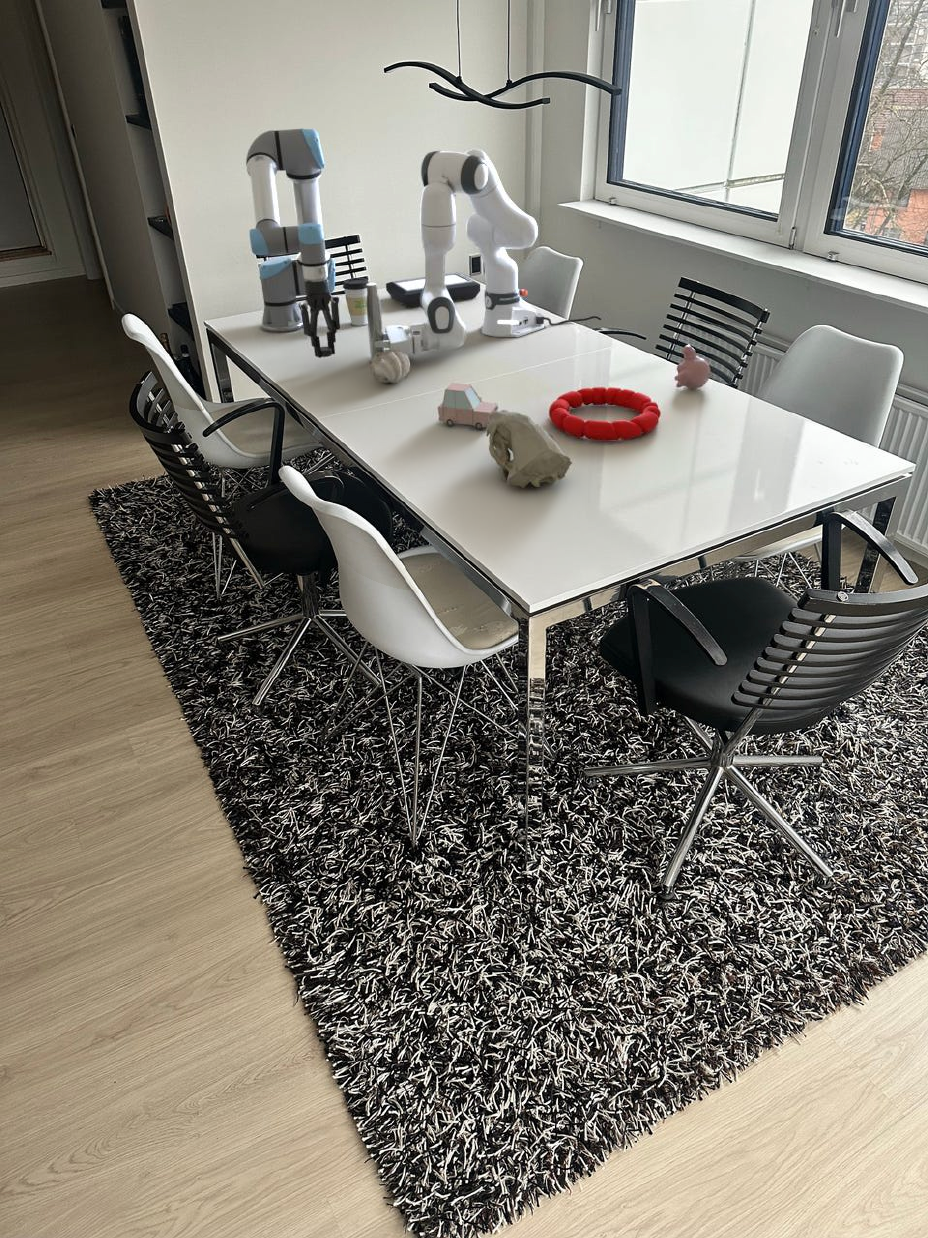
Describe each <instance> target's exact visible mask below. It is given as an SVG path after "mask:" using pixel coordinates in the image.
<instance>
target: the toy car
mask: <svg viewBox="0 0 928 1238" xmlns="http://www.w3.org/2000/svg"><path fill="white" fill-rule="evenodd" d="M498 409H499V404H498V403H497V402H490V401H489V402H487V401H483V397H481V396H480V395H479V394H478V393H477V391H476V390H475V389H474V386H472V384H469V383H459V382H451V383H450V384H449V385H448V386H447V387H446V388H445V389H444V394H443V399H442V403H440V404H439V405H438V406H437V413H438V421H439V422H443V423H446V425H447V426H448V427H452V426H454V425H455V424H461V425H469V426H473V427H475V429H476V430H479V431H480V430H481V429H483V428H485V427H486V428H487V423H488V422H490V414H491V413H492V412H496V411H499V410H498Z"/></svg>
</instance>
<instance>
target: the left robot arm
mask: <svg viewBox="0 0 928 1238" xmlns="http://www.w3.org/2000/svg"><path fill="white" fill-rule="evenodd" d="M245 165H246V166H245V167H246V171H247V175H248V176H249V178H250V182H251V183H250V184H251V194H252V201H253V202H252V203H253V204H252V205H253V214H254V215H253V216H254V225H255V228H251V229H249V231H248V232H249V243H250V248H251V252H252V253H253V254H254V255H256V256H269V255H281V254H283V255H284V254H297V255H296V260H294V261H292V258H291V257H290V256H277V257H273V258H270V259H267V260H264V261H263V262H261V263H260V265H259V266H258V270H259V280H260V285H261V286H260V287H261V292H262V299H263V313H262V319H261V326H262V330H264V331H265V332H271V333H286V332H293V331H296V330H297V331H298V330H300V329H302V328H303V334H304V335H305V336H307V337H309V338H310V341H311V342H310V343H311V347H312V348H313V349H314V356H315V357H316V358H318V359H321V358H322V357H321V348H320V347H321V341H320V336H318V323H319V322H318V321H319V315H320V311H321V312H322V315H323V317H324V321H325V324H326V327H327V330H328V331H326V340H327V347H331V348H332V355H336V349H335V343H336V341H337V339H336V334H337V332H338V330H340V329H341V324H340V323H341V322H340V321H341V320H340V311H339V310H340V309H339V302H340V297H338V296H336V295H332V293H333V292H334V290H335V286H336V262H335V259H334V258H332V257H331V253H329V252H328V251H327V250H326V243H325V231H324V226H323V219H322V218H323V217H322V209H321V199H320V190H319V179H320V178H321V176H322V170H323V169H325V168H326V164H325V159H324V155H323V150H322V145H321V141H320V137H319V134H318V131H317V130H316V129H314V128H303V127H302V128H293V129H280V130H279V129H277V130H274V129H273V130H267V131H264V132H263V133H260V134H259V135H258V136H257V137H256V138H255V139H254V140H253V142H252V143H251V145H250V147H249V149H248V150H247V154H246V159H245ZM279 171H280V172H282V171H284V172H285V176H286V178H287V179H289V180H290V181H291V187H292V195H293V203H294V210H295V218H296V219H295V220H296V225H293V226H292V225H291V226H281V221H280V219H281V218H280V211H279V210H280V209H279V202H278V201H279V200H278V193H277V183H276V175H277V173H278V172H279ZM300 296H301V297H302V296H303V297H305V300H304V301H303V302H302V303H301V302H299V303H297V297H300ZM329 305H330V306H329ZM308 309H309V310H308ZM309 313H310V315H309Z"/></svg>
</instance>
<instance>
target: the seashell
mask: <svg viewBox="0 0 928 1238" xmlns="http://www.w3.org/2000/svg"><path fill="white" fill-rule="evenodd" d="M410 368H411V362H410V358H409V357H408V355H407V354H405V353H404V354H403V353H402V352H401V351H396V350H390V349H384V352H383V353H376V354H375V357H374V358H373V361H372V362H371V371H372V374H373V377H375V378H376V379H377V380H378V381H379V382H380V383H384V384H388V383H389V382H390V383H393V384H396V383H400V382H402V381H403V380H404V378H406V376H407V375H408V373H409V372H410Z"/></svg>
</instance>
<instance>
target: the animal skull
mask: <svg viewBox="0 0 928 1238" xmlns="http://www.w3.org/2000/svg"><path fill="white" fill-rule="evenodd" d="M485 436H486V438H487V437H489V438H488V440H489V444H488V445H489V446H488V450H489V454H490V456H491V457H492V458H493V459H494V460H495V462H496V464H497V466H499V468H500V470H501V471H502V472H501V478H502V479H507V480H506V484H507V486H517V487H518V486H519V488H523V489H524V488H526V486H527V485H529V483H531V485H533V486H534V487H536V488H540V485H541V484H542V482H544V483H549V484H550V485H553V484H555V483H556V482H557V480H561V479H563V478H565V476H566V474H567V472H568V471H569V469H570V467H571V466H572V464H573V462H572V461H571V458H570V457H568V456H567V455H565V453H564V451H562V449H561V448H560V446H559V444H557V443H556V439H555V438H554V436H553V435H551V434H550V433H548V432H547V431H546V430H545V429H544V428H542V427H541V426H539V425H538V424H537V423H536V424H535V422H534V421H533V419H532V418H531V417H530V416H529V415H527V414H524V413H519V412H515V411H509V410H507V409H502V410H500V411H499V410H497V411H496V412H492V413H491V414H490V422H488V423H487V427H486V435H485ZM511 453H512V454H511ZM511 455H512V457H513V458H512V460H511ZM507 474H508V475H507Z"/></svg>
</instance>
